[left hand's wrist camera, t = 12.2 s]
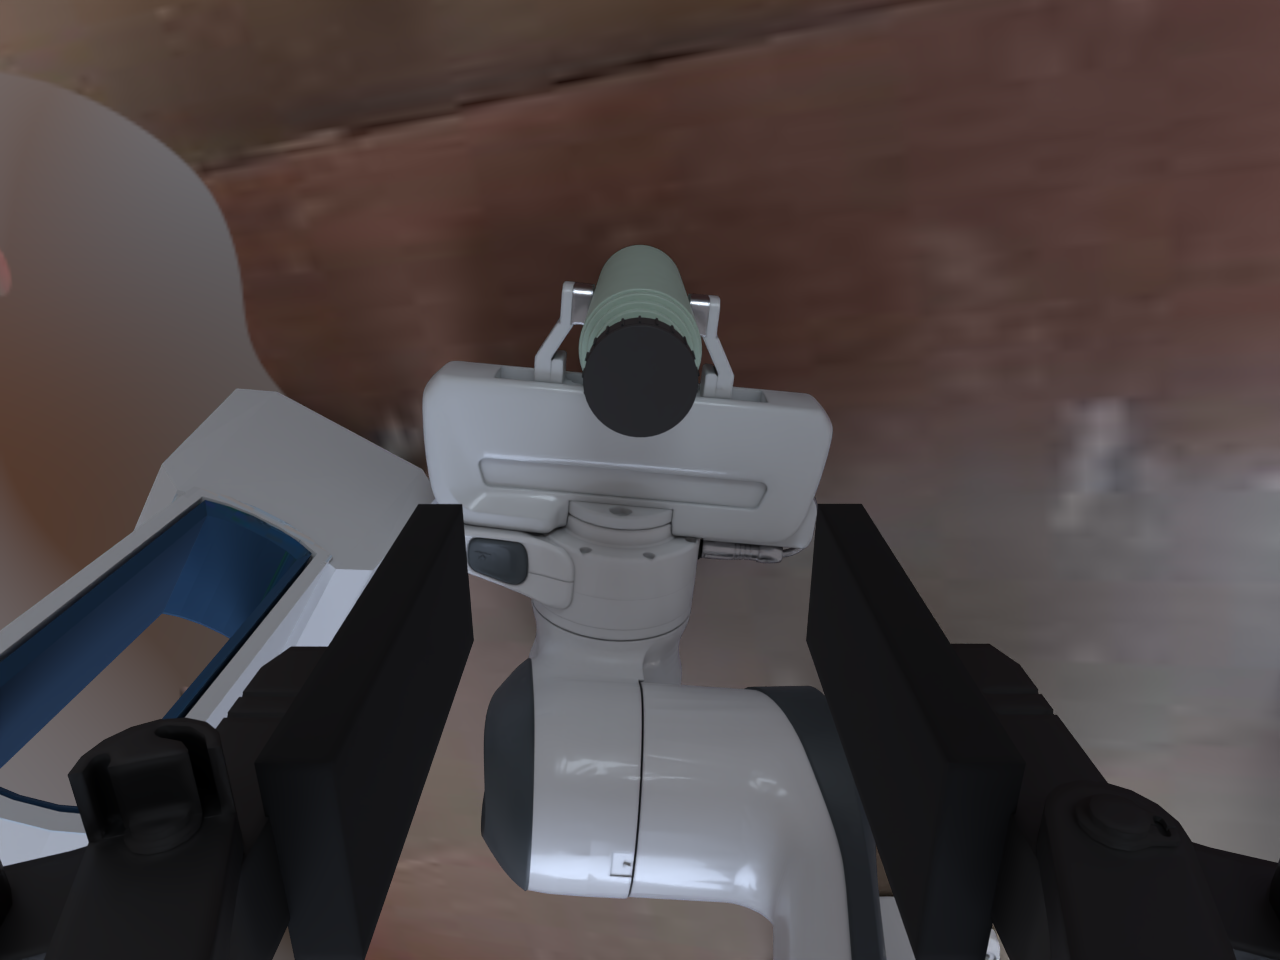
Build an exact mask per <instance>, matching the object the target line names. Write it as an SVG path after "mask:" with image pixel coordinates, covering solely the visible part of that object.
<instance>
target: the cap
mask: <svg viewBox="0 0 1280 960" xmlns="http://www.w3.org/2000/svg"><path fill="white" fill-rule="evenodd" d="M695 359H696V358H695V354H694V351H693V350H692V351H691V349H690V347H689V345H688V343H687V340H686V337H685V336H684V337H683V336H682V335H681V334H680V333H679V332H678V331H677V330H675V329H674V326H673V325H671V326H670V325H668V324H666V323H664V322H661V321H659V320H658V318H655V319H652V318H645V317H641V316H638V317H636V318H629V319H625V320H624V318H622V319H621V321H620V322H617V323H615V324H613V325H612V326H610V327H609V326H607V327H606V330H605V331H603V332H602V333H601V334H600V335H599V336H598V338H596V337H595V338H594V342H593V345H592V347H591V349H590V351H589V352H587V354H586V358H585V361H586V365H585V368H584V369H583V373H582V378H583V389H584V394H585V398H586V401H587V403H588V405H589V408H590V409H591V411H592V412H593V414H594V415H595V416H596V417H597V419H598V420H599V421H600V422H601V423H602V424H604V425H605V426H606V427H608V428H609V429H611V430H613V431H615V432H617V433H619V434H622V435H625V436H629V437H652V436H656V435H659V434H662V433H664V432H666V431H668V430H670V429H672V428H673V427H675V426H676V425H677V424H679V423H680V422H681V421H682V420H683V419H684V418H685V416H686V415H687V414H688V413H689V411H690V409H691V408H692V406H693V403H694V401H695V398H696V395H697V393H698V376H699V371H698V368H697V366H696V364H695Z"/></svg>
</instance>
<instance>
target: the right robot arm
mask: <svg viewBox="0 0 1280 960" xmlns="http://www.w3.org/2000/svg"><path fill="white" fill-rule="evenodd" d="M594 289H595V284H588V283H579V282H570V281H565V282H564V284H563V289H562V299H561V316H560V318H559V320H558V321H557V323H556V324H555V326H554V327H553V329H552V330H551V332H550V333H549V335H548V336H547V338H546V339H545V341H544V342H543V344H542V345H541V347H540V348H539V350H538V352H537V354H536V356H535V367H534V368H528V367H518V366H507V365H496V364H485V363H474V362H464V361H451V362H448V363H447V364H446V365H444V366H443V367H442V368H441V369H440V370H438V371H437V372H436V373H435V374H434V375H433V376H432V378H431V379H430V380H429V381H428V383H427V385H426V386H425V389H424V392H423V399H422V413H423V432H424V443H425V453H426V461H427V467H428V473H429V479H430V484H431V488H432V491H433V494H434V496H435V499H436V501H437V502H438V504H462V507H463V518H464V530H465V542H466V554H467V566H468V573H469V574H472V575H475V576H477V577H480V578H483V579H486V580H488V581H491V582H494V583H496V584H499V585H501V586H504V587H506V588H509V589H511V590H514V591H516V592H518V593H520V594H523V595H525V596H527V597H529V598H531V601H532V607H533V612H534V616H535V620H536V625H537V633H536V638H535V641H534V643H533V646H532V648H531V651H530V654H529V658H528V659H527V660H525V661H524V662H523V663H522V664H520V665H519V666H518V667H517V668H516V669H515V670H514V671H513V672H512V673H511V675H510V676H509V677H508V678H507V679H506V680H505V681H504V682H503V684H502V685H501V686H500V687H499V688H498V689H497V690H496V691H495V693H494V695H493V697H492V699H491V701H490V704H489V707H488V710H487V715H486V721H485V730H484V779H485V792H484V798H483V806H482V816H481V834H482V837H483V839H484V840H485V842H486V844H487V845H488V847H489V849H490V851H491V852H492V854H493V855H494V857H495V858H496V860H497V861H498V863H499V864H500V866H501V867H502V868H503V870H504V871H505V872H506V873H507V875H508V876H509V877H510V878H511V879H512V880H513V881H514V882H515V883H516V884H517V885H518V886H519V887H521V888H522V889H523V890H524V891H526V890H531V891H536V892H542V893H548V894H560V895H573V896H586V897H605V898H625V899H626V898H627V897H639V898H657V899H675V900H692V901H710V902H726V903H733V904H738V905H741V906H744V907H747V908H750V909H752V910H754V911H756V912H758V913H760V914H761V915H763V916H764V917H766V918H767V919H768V920H769V921H770V922H771V923H772V925H773V960H915V957H914V954H913V951H912V948H911V945H910V942H909V939H908V936H907V933H906V930H905V927H904V925H903V922H902V919H901V916H900V913H899V910H898V907H897V904H896V901H895V898H894V897H890V896H884V897H879V890H878V879H877V865H876V843H875V840H874V837H873V834H872V831H871V828H870V825H869V822H868V819H867V816H866V814H865V811H864V808H863V805H862V802H861V799H860V796H859V793H858V790H857V787H856V784H855V781H854V778H853V776H852V773H851V770H850V767H849V764H848V761H847V758H846V755H845V752H844V749H843V746H842V743H841V740H840V738H839V735H838V732H837V729H836V726H835V723H834V720H833V717H832V714H831V711H830V708H829V705H828V702H827V700H826V697H825V695H824V694H822V693H821V692H820V691H819V690H817V689H816V688H814V687H812V686H773V687H747V688H745V689H735V688H720V687H705V686H690V685H681V680H682V665H681V659H680V655H679V642H680V638H681V636H682V633H683V631H684V630H685V628H686V626H687V623H688V620H689V617H690V613H691V606H692V599H693V591H694V584H695V577H696V568H697V559H699V558H710V559H723V560H733V559H734V560H738V559H739V560H743V559H744V560H748V559H749V560H755V561H756V562H760V563H779V562H781V560H782V557H788V556H792V555H795V554H797V553H799V552H800V551H802V550H803V549H804V548H806V547H807V546H808V545H809V543H810V542H811V539H812V537H813V534H814V529H815V523H816V518H817V507H818V506H817V501H816V498H815V494H816V491H817V488H818V485H819V482H820V479H821V477H822V473H823V470H824V467H825V463H826V460H827V456H828V452H829V448H830V444H831V440H832V434H833V427H832V423H831V420H830V418H829V416H828V415H827V413H826V411H825V410H824V408H823V407H822V406H821V405H820V404H819V402H818V401H817V400H816V399H815V398H814V397H813V396H812V395H809V394H806V393H796V392H785V391H775V390H764V389H753V388H743V387H733V381H734V374H733V372H732V369H731V367H730V364H729V362H728V360H727V357H726V355H725V352H724V350H723V348H722V345H721V343H720V340H719V338H718V336H717V328H718V320H719V312H720V298H719V296H713V295H703V294H690V293H689V295H688V299H689V302H690V305H691V308H692V311H693V314H694V317H695V320H696V323H697V326H698V329H699V332H700V336H701V337H703V339H704V342H705V344H706V347H707V349H708V351H709V354H710V356H711V358H712V361H713V363H714V366H713V365H712V364H704V365H703V367H702V375H701V382H700V383H698V393H697V395H696V398H695V401H694V403H693V406H692V408H691V409H690V411H689V413H688V414H687V415H686V416H685V418H684V419H683V420H682V421H681V422H680V423H679V424H677V425H676V426H675V427H673V428H672V429H670V430H668V431H666V432H664V433H662V434H659V435H656V436H652V437H629V436H625V435H622V434H619V433H617V432H615V431H613V430H611V429H609V428H608V427H606V426H605V425H604V424H602V423H601V422H600V421H599V420H598V419H597V417H596V416H595V415H594V414H593V412H592V411H591V409H590V408H589V405H588V403H587V401H586V398H585V394H584V389H583V378H582V372H571V371H566V357H567V352H566V351H565V350H557V349H558V347H559V346H560V344H561V343H562V341H563V340H564V338H565V337H566V335H567V334H568V332H569V331H570V329H571V328H572V327H573V325H574V324H575V325H584V322H585V319H586V316H587V313H588V309H589V306H590V303H591V300H592V297H593V294H594ZM556 350H557V351H556ZM701 538H702V539H701ZM783 547H790V548H789V549H785V550H783ZM985 960H1000V945H999V941H998V938H997V935H996V933H995V931H994V930H993V929H991V934H990V938H989V943H988V948H987V953H986V958H985Z"/></svg>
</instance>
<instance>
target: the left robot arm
mask: <svg viewBox="0 0 1280 960" xmlns="http://www.w3.org/2000/svg"><path fill="white" fill-rule="evenodd" d="M473 641H474V637H473V626H472V614H471V602H470V590H469V578H468V566H467V554H466V542H465V530H464V518H463V507H462V504H418V505H417V507H416V508H415V510H414V512H413V513H412V515H411V516H410V518H409V519H408V521H407V523H406V524H405V526H404V527H403V529H402V530H401V532H400V534H399V535H398V537H397V538H396V540H395V541H394V543H393V545H392V546H391V548H390V549H389V551H388V553H387V554H386V556H385V557H384V559H383V560H382V562H381V564H380V565H379V567H378V568H377V570H376V571H375V573H374V575H373V576H372V578H371V579H370V581H369V582H368V584H367V586H366V587H365V589H364V590H363V592H362V593H361V595H360V597H359V598H358V600H357V601H356V603H355V605H354V606H353V608H352V609H351V611H350V612H349V614H348V616H347V617H346V619H345V620H344V622H343V623H342V625H341V627H340V628H339V630H338V631H337V633H336V634H335V636H334V638H333V639H332V641H331V642H330V644H329V645H328V646H291V647H289V648H288V649H287V650H285V651H284V652H282V653H281V654H279V655H278V656H277V657H275V658H274V659H272V660H271V661H269V662H268V663H266V664H265V665H264V666H262V667H261V668H260V669H259V670H258V672H257V673H256V675H255V676H254V677H253V679H252V680H251V681H250V683H249V684H248V685H247V687H246V688H245V689H244V691H243V695H242V697H239V698H238V699H237V700H236V702H235V703H234V704H233V706H232V707H231V708H230V710H229V711H228V715H227V718H223V719H222V721H221V722H220V723H219V725H218V726H217V727H216V729H215V728H214V727H212V726H211V725H210V724H209V723H208V722H205V721H201V720H196V719H191V718H171V719H159V720H155V721H152V722H148V723H144V724H141V725H137V726H133V727H130V728H128V729H126V730H124V731H122V732H120V733H118V734H115V735H113V736H111V737H109V738H107V739H105V740H103V741H102V742H100V743H99V744H98V745H96V746H95V747H94V748H92V749H91V750H90V751H88V752H87V753H86V754H84V755H83V756H82V757H81V758H80V759H79V760H78V762H77V763H76V764H75V766H74V767H73V768H72V770H71V771H70V772H69V774H68V778H69V781H70V784H71V787H72V790H73V794H74V797H75V800H76V803H77V807H78V810H79V813H80V816H81V819H82V823H83V826H84V829H85V832H86V836H87V839H88V842H89V843H88V845H87V846H85V847H82V848H78V849H75V850H72V851H68V852H63V853H59V854H55V855H50V856H46V857H42V858H37V859H33V860H29V861H24V862H20V863H16V864H11V865H7V866H3V865H2V862H1V860H0V960H272V959H273V957H274V954H275V952H276V950H277V948H278V946H279V944H280V941H281V939H282V937H283V935H284V933H285V930H286V928H287V926H288V929H289V933H290V938H291V943H292V948H293V953H294V958H295V960H365V957H366V954H367V951H368V948H369V945H370V942H371V939H372V936H373V933H374V930H375V927H376V925H377V922H378V919H379V916H380V913H381V910H382V907H383V904H384V901H385V898H386V895H387V892H388V889H389V887H390V884H391V881H392V878H393V875H394V872H395V869H396V866H397V863H398V860H399V857H400V854H401V851H402V849H403V846H404V843H405V840H406V837H407V834H408V831H409V828H410V825H411V822H412V819H413V816H414V814H415V811H416V808H417V805H418V802H419V799H420V796H421V793H422V790H423V787H424V784H425V781H426V778H427V776H428V773H429V770H430V767H431V764H432V761H433V758H434V755H435V752H436V749H437V746H438V743H439V740H440V738H441V735H442V732H443V729H444V726H445V723H446V720H447V717H448V714H449V711H450V708H451V705H452V702H453V700H454V697H455V694H456V691H457V688H458V685H459V682H460V679H461V676H462V673H463V670H464V667H465V665H466V662H467V659H468V656H469V653H470V650H471V647H472V644H473ZM806 641H807V644H808V647H809V650H810V653H811V656H812V659H813V662H814V665H815V667H816V670H817V673H818V676H819V679H820V682H821V685H822V688H823V691H824V694H825V697H826V700H827V702H828V705H829V708H830V711H831V714H832V717H833V720H834V723H835V726H836V729H837V732H838V735H839V738H840V740H841V743H842V746H843V749H844V752H845V755H846V758H847V761H848V764H849V767H850V770H851V773H852V776H853V778H854V781H855V784H856V787H857V790H858V793H859V796H860V799H861V802H862V805H863V808H864V811H865V814H866V816H867V819H868V822H869V825H870V828H871V831H872V834H873V837H874V840H875V843H876V846H877V849H878V851H879V854H880V857H881V860H882V863H883V866H884V869H885V872H886V875H887V878H888V881H889V884H890V887H891V889H892V892H893V895H894V898H895V901H896V904H897V907H898V910H899V913H900V916H901V919H902V922H903V925H904V927H905V930H906V933H907V936H908V939H909V942H910V945H911V948H912V951H913V954H914V957H915V960H985V958H986V953H987V948H988V943H989V938H990V934H991V929H992V924H994V926H995V928H996V931H997V933H998V935H999V937H1000V939H1001V942H1002V944H1003V946H1004V948H1005V950H1006V952H1007V955H1008V957H1009V959H1010V960H1280V860H1279V862H1278V863H1275V862H1271V861H1267V860H1262V859H1258V858H1254V857H1249V856H1245V855H1240V854H1236V853H1232V852H1227V851H1223V850H1219V849H1214V848H1210V847H1207V846H1203V845H1200V844H1197V843H1193V842H1192V841H1191V840H1190V838H1189V837H1188V835H1187V834H1186V832H1185V831H1184V829H1183V828H1182V826H1181V825H1180V823H1179V822H1178V821H1177V820H1176V819H1175V818H1173V817H1172V816H1171V815H1170V814H1169V813H1167V812H1166V811H1165V810H1164V809H1163V808H1162V807H1160V806H1159V805H1158V804H1156V803H1154V802H1152V801H1151V800H1149V799H1147V798H1145V797H1143V796H1141V795H1139V794H1137V793H1135V792H1134V791H1132V790H1129V789H1125V788H1122V787H1119V786H1115V785H1112V784H1109V783H1107V781H1106V780H1105V779H1104V777H1103V776H1102V775H1101V773H1100V772H1099V771H1098V769H1097V768H1096V767H1095V765H1094V764H1093V763H1092V761H1091V760H1090V759H1089V757H1088V756H1087V755H1086V753H1085V752H1084V750H1083V749H1082V748H1081V746H1080V745H1079V744H1078V742H1077V741H1076V740H1075V738H1074V737H1073V736H1072V734H1071V733H1070V732H1069V730H1068V729H1067V728H1066V726H1065V725H1064V724H1063V722H1062V721H1061V720H1060V718H1059V717H1058V716H1057V715H1054V714H1053V709H1052V707H1051V706H1050V705H1049V703H1048V702H1047V701H1046V699H1045V698H1044V697H1043V695H1042V694H1038V689H1037V687H1036V686H1035V685H1034V683H1033V682H1032V681H1031V679H1030V678H1029V677H1028V675H1027V674H1026V673H1025V671H1024V670H1023V669H1022V667H1021V666H1020V665H1019V664H1018V663H1016V662H1015V661H1013V660H1012V659H1011V658H1009V657H1008V656H1006V655H1005V654H1003V653H1002V652H1000V651H999V650H998V649H996V648H995V647H993V646H992V645H990V644H950V642H949V641H948V639H947V638H946V636H945V634H944V633H943V631H942V630H941V628H940V627H939V625H938V623H937V622H936V620H935V619H934V617H933V616H932V614H931V612H930V611H929V609H928V608H927V606H926V605H925V603H924V601H923V600H922V598H921V597H920V595H919V593H918V592H917V590H916V589H915V587H914V586H913V584H912V582H911V581H910V579H909V578H908V576H907V575H906V573H905V571H904V570H903V568H902V567H901V565H900V564H899V562H898V560H897V559H896V557H895V556H894V554H893V553H892V551H891V549H890V548H889V546H888V545H887V543H886V541H885V540H884V538H883V537H882V535H881V534H880V532H879V530H878V529H877V527H876V526H875V524H874V523H873V521H872V519H871V518H870V516H869V515H868V513H867V512H866V510H865V508H864V507H863V505H862V504H818V507H817V518H816V530H815V542H814V554H813V566H812V578H811V590H810V602H809V614H808V626H807V637H806Z"/></svg>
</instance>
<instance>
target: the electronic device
mask: <svg viewBox="0 0 1280 960" xmlns="http://www.w3.org/2000/svg"><path fill="white" fill-rule="evenodd" d="M437 503H438V502H437V501H436V499H435V496H434V494H433V491H432V488H431V484H430V481H429V479H428V478H427V476H426V474H425V473H424V471H423V470H422V469H421V468H419V467H417V466H415V465H413V464H411V463H410V462H408V461H406V460H404V459H402V458H400V457H398V456H397V455H395V454H393V453H391V452H389V451H387V450H385V449H383V448H382V447H380V446H378V445H376V444H374V443H372V442H370V441H368V440H367V439H365V438H363V437H361V436H359V435H357V434H355V433H354V432H352V431H350V430H348V429H346V428H344V427H342V426H340V425H339V424H337V423H335V422H333V421H331V420H329V419H327V418H325V417H324V416H322V415H320V414H318V413H316V412H314V411H312V410H311V409H309V408H307V407H305V406H303V405H301V404H299V403H297V402H296V401H294V400H292V399H290V398H288V397H286V396H284V395H282V394H281V393H279V392H276V391H264V390H252V389H240V388H237V389H235V390H234V391H233V392H232V394H230V395H229V396H228V397H227V399H225V401H224V402H223V403H222V404H221V405H220V406H219V407H218V408H217V409H216V410H215V411H214V412H213V413H212V414H211V415H210V416H209V417H208V418H207V419H206V420H205V421H204V422H203V423H202V424H201V425H200V426H199V427H198V428H197V429H196V430H195V431H194V432H193V433H192V434H191V435H190V436H189V437H188V438H187V439H186V440H185V441H184V442H183V443H182V444H181V445H180V446H179V447H178V448H177V449H176V450H175V451H174V452H173V453H172V454H171V456H170V457H169V458H168V459H167V460H166V461H165V462H164V463H163V464H162V465H161V468H160V470H159V473H158V475H157V477H156V480H155V482H154V484H153V487H152V489H151V491H150V494H149V496H148V499H147V501H146V503H145V506H144V508H143V510H142V513H141V515H140V517H139V520H138V522H137V525H136V527H135V529H134V531H133V532H132V533H131V534H129V535H128V536H127V537H125V538H124V539H123V540H121V541H120V542H119V543H117V544H116V545H115V546H113V547H112V548H111V549H109V550H108V551H107V552H105V553H104V554H103V555H101V556H100V557H99V558H97V559H96V560H94V561H93V562H92V563H90V564H89V565H88V566H86V567H85V568H84V569H82V570H81V571H80V572H78V573H77V574H76V575H74V576H73V577H72V578H70V579H69V580H68V581H66V582H65V583H64V584H62V585H61V586H60V587H58V588H57V589H56V590H54V591H53V592H51V593H50V594H49V595H47V596H46V597H45V598H43V599H42V600H41V601H39V602H38V603H37V604H35V605H34V606H33V607H31V608H30V609H29V610H27V611H26V612H25V613H23V614H22V615H21V616H19V617H18V618H17V619H15V620H14V621H13V622H11V623H10V624H8V625H7V626H6V627H4V628H3V629H2V630H1V631H0V768H1V767H2V766H3V765H4V764H6V763H7V762H8V761H9V760H10V759H11V758H12V757H13V756H14V755H15V754H16V753H17V752H18V751H19V750H20V749H21V748H22V747H23V746H24V745H25V744H26V743H27V742H28V741H29V740H31V739H32V738H33V737H34V736H35V735H36V734H37V733H38V732H39V731H40V730H41V729H42V728H43V727H44V726H45V725H46V724H47V723H48V722H49V721H50V720H51V719H52V718H53V717H55V716H56V715H57V714H58V713H59V712H60V711H61V710H62V709H63V708H64V707H65V706H66V705H67V704H68V703H69V702H70V701H71V700H72V699H73V698H74V697H75V696H76V695H77V694H78V693H79V692H81V691H82V690H83V689H84V688H85V687H86V686H87V685H88V684H89V683H90V682H91V681H92V680H93V679H94V678H95V677H96V676H97V675H98V674H99V673H100V672H101V671H102V670H103V669H104V668H106V667H107V666H108V665H109V664H110V663H111V662H112V661H113V660H114V659H115V658H116V657H117V656H118V655H119V654H120V653H121V652H122V651H123V650H124V649H125V648H126V647H127V646H128V645H130V644H131V643H132V642H133V641H134V640H135V639H136V638H137V637H138V636H139V635H140V634H141V633H142V632H143V631H144V630H145V629H146V628H147V627H148V626H149V625H150V624H151V623H152V622H154V621H155V620H156V619H157V618H158V617H159V616H160V615H161V614H168V615H172V616H177V617H181V618H184V619H187V620H190V621H193V622H196V623H198V624H201V625H203V626H206V627H208V628H210V629H212V630H214V631H216V632H218V633H220V634H223V635H225V636H226V637H228V638H229V641H228V642H227V643H226V644H225V645H224V647H223V648H222V649H221V650H220V651H219V652H218V654H217V655H216V656H215V657H214V658H213V659H212V661H211V662H210V663H209V664H208V665H207V667H206V668H205V669H204V670H203V671H202V672H201V674H200V675H199V676H198V677H197V678H196V680H195V681H194V682H193V683H192V684H191V685H190V687H189V688H188V689H187V690H186V691H185V692H184V694H183V695H182V696H181V697H180V698H179V700H178V701H177V702H176V703H175V704H174V705H173V707H172V708H171V709H170V710H169V711H168V713H167V714H166V715H165V716H164V717H163V718H162V719H171V718H191V719H196V720H201V721H205V722H208V723H209V724H210V725H211V726H212V727H214V728H215V729H216V727H217V726H218V725H219V723H220V722H221V721H222V719H223V718H227V715H228V711H229V710H230V708H231V707H232V706H233V704H234V703H235V702H236V700H237V699H238V698H239V697H242V695H243V691H244V689H245V688H246V687H247V685H248V684H249V683H250V681H251V680H252V679H253V677H254V676H255V675H256V673H257V672H258V670H259V669H260V668H261V667H262V666H264V665H265V664H266V663H268V662H269V661H271V660H272V659H274V658H275V657H277V656H278V655H279V654H281V653H282V652H284V651H285V650H287V649H288V648H289V647H291V646H328V645H329V644H330V642H331V641H332V639H333V638H334V636H335V634H336V633H337V631H338V630H339V628H340V627H341V625H342V623H343V622H344V620H345V619H346V617H347V616H348V614H349V612H350V611H351V609H352V608H353V606H354V605H355V603H356V601H357V600H358V598H359V597H360V595H361V593H362V592H363V590H364V589H365V587H366V586H367V584H368V582H369V581H370V579H371V578H372V576H373V575H374V573H375V571H376V570H377V568H378V567H379V565H380V564H381V562H382V560H383V559H384V557H385V556H386V554H387V553H388V551H389V549H390V548H391V546H392V545H393V543H394V541H395V540H396V538H397V537H398V535H399V534H400V532H401V530H402V529H403V527H404V526H405V524H406V523H407V521H408V519H409V518H410V516H411V515H412V513H413V512H414V510H415V508H416V507H417V505H418V504H437ZM88 843H89V842H88V839H87V836H86V832H85V829H84V826H83V823H82V819H81V816H80V813H79V810H78V807H77V806H67V805H58V804H54V803H50V802H46V801H42V800H38V799H34V798H30V797H26V796H22V795H19V794H16V793H14V792H11V791H9V790H7V789H4V788H2V787H0V860H1V862H2V865H3V866H7V865H11V864H16V863H20V862H24V861H29V860H33V859H37V858H42V857H46V856H50V855H55V854H59V853H63V852H68V851H72V850H75V849H78V848H82V847H85V846H87V845H88Z"/></svg>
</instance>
